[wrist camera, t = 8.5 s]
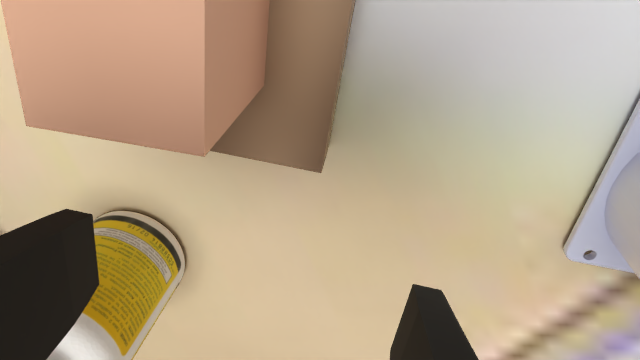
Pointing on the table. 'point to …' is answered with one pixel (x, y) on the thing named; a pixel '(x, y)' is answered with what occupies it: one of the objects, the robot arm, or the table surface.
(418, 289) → the robot arm
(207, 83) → the terracotta block
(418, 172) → the table surface
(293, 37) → the walnut slab
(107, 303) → the supplement bottle
